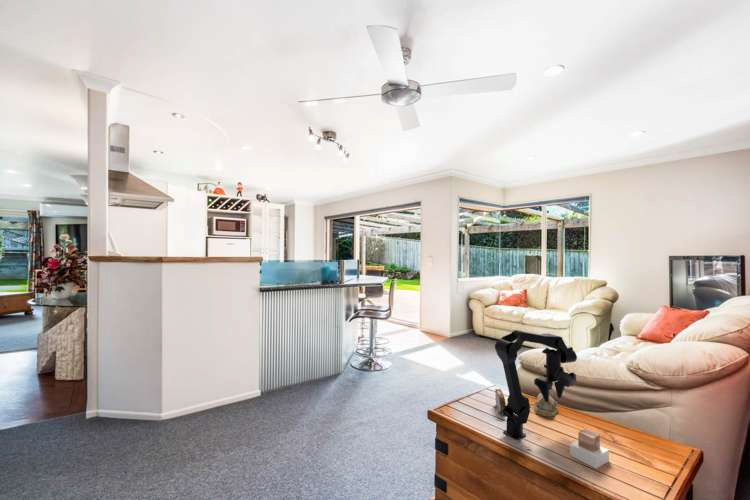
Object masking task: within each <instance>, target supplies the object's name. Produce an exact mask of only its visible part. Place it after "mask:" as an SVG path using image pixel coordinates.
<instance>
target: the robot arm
mask: <svg viewBox="0 0 750 500" xmlns="http://www.w3.org/2000/svg"><path fill="white" fill-rule="evenodd" d="M524 342H528V343H533V344H534V343H535V344H540V345H543V346H546V347H545V348H544V349H543V350H542V351H541V353H542V354H545V364H544V365H543V368H545V373H543V377H542V376H539V377H536V378H534V379H533V383H534V385H535V386H536V387H538V389H539V391H540V393H542V395H543V398H544V400H545V402H548V400H549V395H550V391H551V390H553V383H554V386H555V387H554V388H555V391H556V392H555V393H556V396H557V398H559V399H561V398H562V396H563V392H564V391H565V389H566V388H570V387H573V386H574V384H575V383H576V382H577V374H576V373H575V372H573V371H572V372H565V369H564V367H563V366H562V364H568V363H569V364H570V363H575V362H576V361H577V359H578V356H577V353H576V352H575V350H574V349H573V348H574V347H572V346H569V345H567V344H566V343H565V341H564V338H563V336H560V335H559V336H558V335H555V334H551V333H542V334H538V333H533V332H527V331H523V330H520V329H515V330H513V331H512V332H511V333H508V334H506V335H504V336H502V337H501V338H499V339H498V340H497V341H496V342H495V344H494V349H495V352H496V354H497V356H498V358H499V359H500V361H501V363H502V366H503V367H502V368H503V370H504V374H505V375H504V376H505V380H506V383H507V384H506V385H507V389H508V393H509V394H508V397H507V404H506V406H505V408H504V409H503V410H502V412H503V414H502V415H503V416H504V417H506V429H505V430H503V431H502V432H503V434H505V435H507V436H509V437H510V438H512V439H515V440H520V439H521V438H524V437H526V436H527V434H526V433H524V424H528V420H529V415H530V413H531V406H530V400H529V397H528V396H527V397H526V396H525V395H523V393H522V388H521V383H520V379H519V374H518V370H517V366H516V365H517V364H516V360H517V357H518V352H519V351H520V350H521V348H522V347H523V343H524ZM565 387H566V388H565Z"/></svg>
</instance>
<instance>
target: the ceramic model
mask: <svg viewBox="0 0 750 500" xmlns="http://www.w3.org/2000/svg"><path fill="white" fill-rule="evenodd" d="M536 398H537V401H535V402H534V403H533V405H532V406H533V410H534V412H535V413H536V414H537V415H539V416H543V417H555V416H556V415H557V413H558V412H560V409H559V408H558V407H557V406H558V402H557V401H556V400H554V398H553V397H552V396H551V395H550V394H549V400H548V402H545V400H544V398H543V395H542V393H541V392H539V394H538V395H537V397H536Z"/></svg>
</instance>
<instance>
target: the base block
mask: <svg viewBox="0 0 750 500" xmlns="http://www.w3.org/2000/svg"><path fill="white" fill-rule="evenodd" d="M569 456H570V457H573V458H575V459H577V460H579V461H580V462H582V463H584V464H587V465H588V466H590V467H592V468H594V469H596V470H597V469H598V468H600V467H602V466H604V465H606V463H608V462H610V449H608V448H605V447H603V446H601V445H600V449H599V450H597V451H595V452H591V451H589V450H587V449H585V448H583V447H580V446H578V440H576V441H574V442H572V443H570V444H569Z"/></svg>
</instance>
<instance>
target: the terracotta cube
mask: <svg viewBox="0 0 750 500" xmlns="http://www.w3.org/2000/svg"><path fill="white" fill-rule="evenodd" d="M577 432H578V433H577V434H578V438H577V439H578V440H577V441H578V446H580V447H583V448H585V449H587V450H589V451H591V452H595V451H597V450H599V449H600V446H601V434H599V433H596V432H595V431H592V430H590V429H589V428H584V429H581V430H580V431H577Z"/></svg>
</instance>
